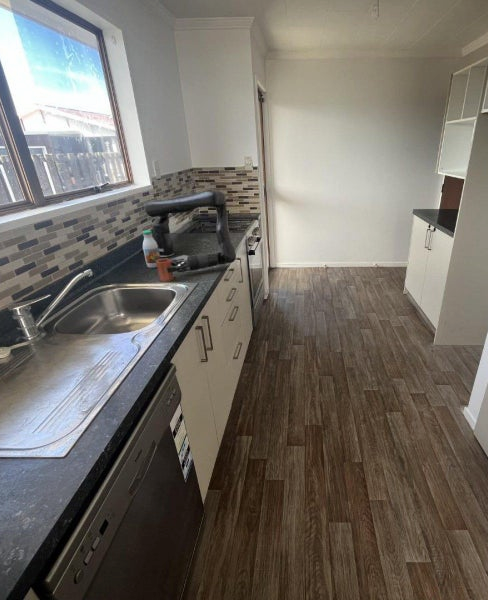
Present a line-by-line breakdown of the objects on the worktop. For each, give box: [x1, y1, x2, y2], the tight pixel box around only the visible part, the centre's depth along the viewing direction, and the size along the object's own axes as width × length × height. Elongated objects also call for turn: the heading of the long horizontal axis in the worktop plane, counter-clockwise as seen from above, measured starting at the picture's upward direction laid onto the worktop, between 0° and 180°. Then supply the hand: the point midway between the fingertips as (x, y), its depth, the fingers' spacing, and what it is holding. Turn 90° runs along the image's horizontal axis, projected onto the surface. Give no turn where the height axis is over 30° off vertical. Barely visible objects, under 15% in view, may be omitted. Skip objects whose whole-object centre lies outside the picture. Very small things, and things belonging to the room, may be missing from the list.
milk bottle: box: [142, 229, 162, 269], centre depth 182 cm, size 8×8×20 cm
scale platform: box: [169, 254, 189, 261], centre depth 186 cm, size 10×10×1 cm
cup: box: [156, 258, 175, 283], centre depth 165 cm, size 7×7×10 cm
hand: (165, 268), depth 165 cm, fingers open, 8 cm apart
